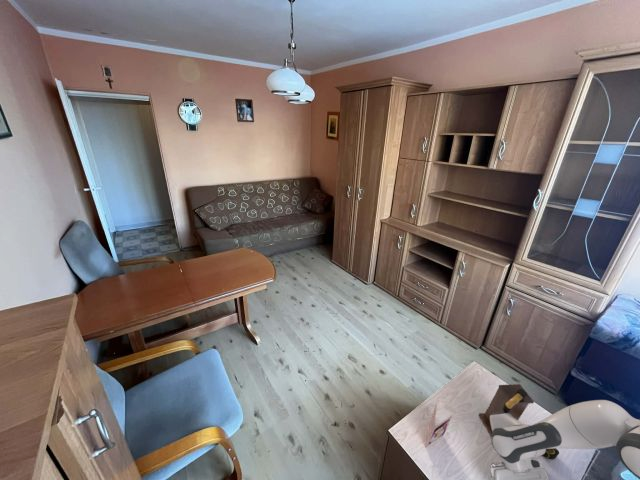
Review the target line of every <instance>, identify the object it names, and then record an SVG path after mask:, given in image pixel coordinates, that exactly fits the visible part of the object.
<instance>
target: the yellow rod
mask: <svg viewBox="0 0 640 480" xmlns="http://www.w3.org/2000/svg"><path fill="white" fill-rule="evenodd" d="M523 389H524V388H523ZM523 389H519V390H518V391H517V393H516V395H515V396H514V397H513V398H511V399H510V400H509V401H508V402H507V403H506V404H504V405H503V407H502V409H503V411H504V412H506V413H509V412H510V411H511V408H512V407H513V406H515V405H516V404H517V403H518V402H519V401H520V400H521V401H524V400H525V398H526V397H527V395H529V394H528V392H527V391H526V390H525V389H524V390H523Z"/></svg>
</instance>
